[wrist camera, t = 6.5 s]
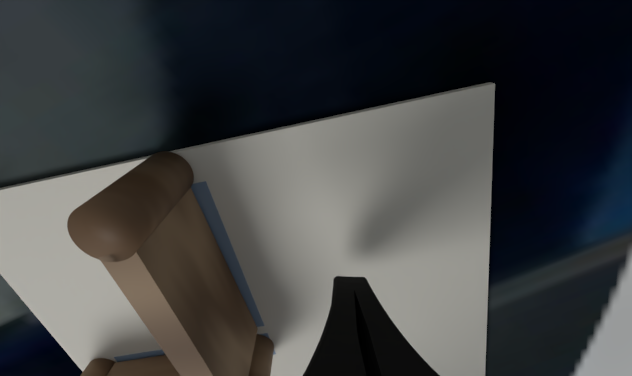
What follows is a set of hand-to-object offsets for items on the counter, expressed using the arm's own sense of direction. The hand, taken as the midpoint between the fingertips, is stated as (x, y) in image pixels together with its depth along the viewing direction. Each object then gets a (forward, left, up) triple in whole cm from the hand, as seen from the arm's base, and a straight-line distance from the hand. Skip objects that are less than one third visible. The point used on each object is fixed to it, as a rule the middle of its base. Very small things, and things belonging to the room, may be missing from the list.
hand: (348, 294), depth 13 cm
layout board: (-3, +5, -3) cm, 6 cm away
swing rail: (+1, +6, -2) cm, 7 cm away
